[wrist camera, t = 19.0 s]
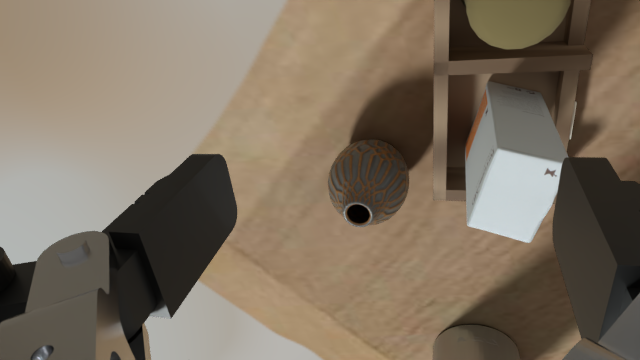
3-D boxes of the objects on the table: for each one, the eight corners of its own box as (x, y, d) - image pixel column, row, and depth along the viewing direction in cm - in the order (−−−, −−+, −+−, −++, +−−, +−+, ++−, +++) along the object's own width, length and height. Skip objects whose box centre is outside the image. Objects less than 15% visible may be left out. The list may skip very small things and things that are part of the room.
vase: (408, 125, 40) (397, 173, 33) (415, 193, 43) (407, 250, 36) (332, 131, 42) (306, 178, 35) (344, 195, 45) (323, 250, 38)
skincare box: (486, 79, 36) (498, 144, 26) (541, 91, 35) (576, 163, 25) (462, 146, 39) (464, 228, 29) (512, 158, 38) (533, 245, 28)
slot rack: (558, 175, 39) (570, 204, 35) (435, 173, 42) (433, 200, 38) (606, -136, 28) (630, -142, 24) (436, -111, 31) (434, -114, 27)
